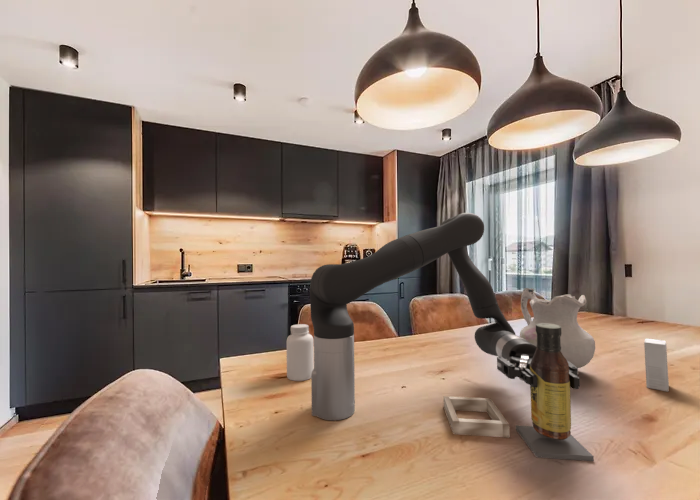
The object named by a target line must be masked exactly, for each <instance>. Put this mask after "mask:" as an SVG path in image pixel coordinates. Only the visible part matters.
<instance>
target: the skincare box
mask: <svg viewBox="0 0 700 500" xmlns="http://www.w3.org/2000/svg"><path fill="white" fill-rule="evenodd" d="M643 343H644V344H643V345H644V362H645V363H644V364H645V380H646V383H645V385H646V388H648V389H653V390H658V391H662V392H665V393H666V392H667V393H668V392H670V391H669V389H670V383H669V368H668V350H667V348H668V347H667V341H666V340H664V339H663V340H662V339H653V338H644V342H643Z"/></svg>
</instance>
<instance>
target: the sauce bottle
mask: <svg viewBox="0 0 700 500" xmlns="http://www.w3.org/2000/svg"><path fill="white" fill-rule="evenodd" d="M536 333H537V345H536V346H537V348H536V351H535V353H534V356H533V358H532V361H531V363H530V371H531V372H533V373H534V374H535V375H536V376H537V387H532V386H530V385H529V386H530V387H529V388H530V414H531V415H530V416H531V417H530V419H531V421H532V422H531V423H532V426H533V427H534V429H535V430H536V431H537V433H539V434H541V435H544V436H546V437H549V438H552V439H558V440H565V439H567V438H568V437H569V436H570V434H571V429H572V412H571V411H572V409H571V408H572V407H571V406H572V405H571V403H572V402H571V387H570V378H569V365H568V362H567V360H566V358H565V357H564V356H563V354H562V352H561V342H560V337H561V334H562V333H561V326H559V325H556V324H549V323H540V324H536ZM571 435H572V434H571Z"/></svg>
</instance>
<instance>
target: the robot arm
mask: <svg viewBox="0 0 700 500" xmlns="http://www.w3.org/2000/svg"><path fill="white" fill-rule="evenodd" d="M484 233H485V224H484V221H483V220H482V218H481V217H479V215H477V214H476V213H473V212H462V213H459V214H457V215H455V216H452V217H450V218H447V219H445V220H444V221H442V222H441V224H440V225H438V226H435V227H431V228H426V229H423V230H419V231H416V232H412V233H409V234H406V235H403V236H401V237H397V238H396V239H393V240H391V241H389V242H387V243H385V244H384V245H382V246H381V247H380V248H379V249H378V250H376V251H375V252H374V253H373V254H371V255H369V256H366V257H364V258H360V259H357V260H353V261H349V262H346V263H342V264H341V263H338V264H337V263H336V264H334V263H333V264H324V265H321V266H319V267H318V268H316V269H315V271H314V272H313V274H312V275H311V278H310V283H309V284H310V285H309V301H310V302H309V303H310V306H309V307H310V319H311V323H312V328H313V347H314V369H313V371H312V373H311V378H310V379H311V387H310V388H311V416H315V417H318V418H319V419H322V420H326V421H340V420H344V419H347V418H350V417H352V415H353V414H354V413H355V409H356V408H355V406H356V405H355V404H356V399H355V395H356V393H355V387H356V386H355V385H356V384H355V325H354V324H355V323H354V321H353V319H352V318H351V316H350V315H349V311H348V307H347V305H348V304H350V303H352V302H354V301H356V300H357V299H358V298H361V297H362V296H364V295H365V294H367V293H368V292H370V291H371V290H373V289H376V288H377V287H378V286H381V285H383V284H386V283H388V282H390V281H394V280H396V279H398V278H400V277H404V276H405V275H408V274H410V273H412V272H415V271H417V270H419V269H421V268H422V267H425V266H426V265H427V266H428V264H430V263H433V262H434V261H436V260H438V259H439V258H441V257H442V256H444V255H446V254H448V257H449V258H450V260H451V263H452V264H453V267H454V268H455V270H456V272H457V275H458V276H459V278H460V281H461V282H462V284H463V287H464V290H465V293H466V295H467V299H468V300H469V304H470V307H471V310H472V313H473V315H474V317H475V318H477V319H493V320H494V321H495V322H494V323H491V324H487V325H483V326H480V327H478V328H477V329H476V330H475V332H474V341H475V343H476V346H477V347H478V348H479V349H480V350H481V351H482V352H484V353H485V354H488V355H491V356H495V357H496V370H498V371H499V372H501V373H502V374H503V375H504V376H506V378H508V379H509V380H510V379H511V380H515V379H516V378H518V379H519V380H520V381H524V383H525V384H527V385H529V386H532V387H537V376H536V375H535V374H534V373H533V372H531V371H530V363H531V361H532V358H533V356H534V353H535V351H536V348H537V347H536V346H535V345H533V344H532V343H530V342H528V341H527V340H525V339H523V338H521V337H520V335H519V336H518V335H517V334H516V332H515V329H513V327H512V326H511V324H510V323H509V321H508V320H507V318H506V317H505V315H504V314H503V312H502V309H500V305H499V303H498V301H497V297H496V295H495V292H494V290H493V286H492V284H491V283H490V281H489V280H488V279H487V277H486V276H485V275H484V273H482V271H480V269H479V268H478V267H477V266H476V264H475V263H474V262H473V261H472V259H471V258H470V255H469V254H468V251H467V247H468V246H472V245H474V244H476V243H478V242H479V241H480V240H481V239H482V237H483V236H484ZM567 362H568V365H569V378H570V389H573V390H579V388H580V385H581V380H580V376H578V375H579V374H578V372H579V371H578V370H579V368H577V367H576V366H575V365H573V364H572V363H570V362H569V361H568V360H567ZM577 371H578V372H577Z"/></svg>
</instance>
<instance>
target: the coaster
mask: <svg viewBox="0 0 700 500" xmlns="http://www.w3.org/2000/svg"><path fill="white" fill-rule="evenodd" d="M515 430H516V432H517V434H518V435H520V437H521V438H522V440H523V441H524V443H525V444H526V445H527V446H528V448H529V449H530V451H531V453H533V455H534V456H535V457H536V458H541V459H542V458H544V459H545V458H546V459H556V460H558V459H559V460H561V459H562V460H571V461H586V462H594V461H595V460H594V459H595V458H594V455H593V454H592V453H591V452H590V451H589V450H588V449H586V448H585V446H583V444H581V442H580V441H578V439H577V438H576V437H574V436H573V435H572V434H570V436H569V437H568V438H567V439H565V440H558V439H552V438H549V437H546V436H544V435H541V434H539V433H537V431H536V430H535V429H534V427H533V425H519V424H518V425H515Z"/></svg>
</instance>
